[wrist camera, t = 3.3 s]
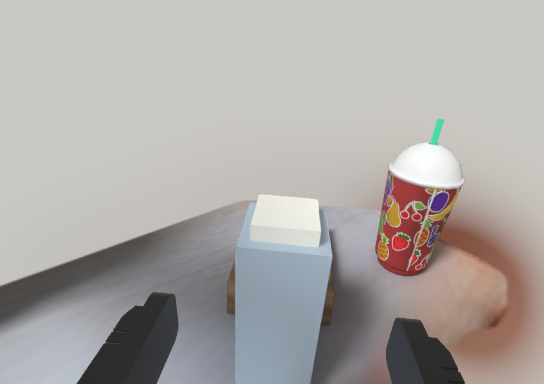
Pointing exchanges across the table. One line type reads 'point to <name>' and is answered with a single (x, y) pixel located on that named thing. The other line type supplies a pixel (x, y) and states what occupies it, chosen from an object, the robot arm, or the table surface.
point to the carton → (280, 289)
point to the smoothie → (417, 204)
